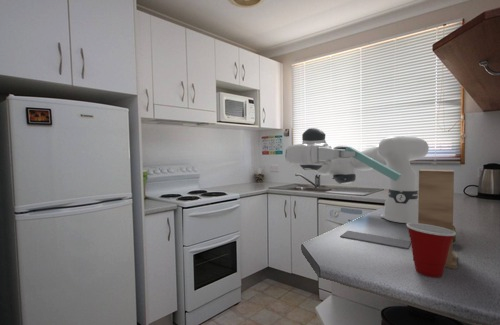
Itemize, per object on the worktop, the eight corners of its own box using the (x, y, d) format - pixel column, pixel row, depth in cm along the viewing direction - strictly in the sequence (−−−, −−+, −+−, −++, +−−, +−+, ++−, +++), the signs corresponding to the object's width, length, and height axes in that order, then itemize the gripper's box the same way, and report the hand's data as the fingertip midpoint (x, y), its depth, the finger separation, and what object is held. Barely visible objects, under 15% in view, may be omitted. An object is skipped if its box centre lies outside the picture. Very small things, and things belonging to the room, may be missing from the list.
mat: (347, 231, 108) (347, 230, 108) (411, 242, 95) (411, 240, 95) (340, 237, 101) (340, 235, 101) (408, 249, 88) (408, 248, 88)
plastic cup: (467, 281, 65) (468, 232, 65) (424, 283, 65) (425, 233, 64) (433, 263, 76) (434, 221, 76) (396, 264, 75) (397, 221, 75)
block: (347, 152, 105) (350, 146, 104) (397, 180, 94) (401, 174, 94) (343, 152, 101) (347, 146, 101) (395, 181, 91) (399, 175, 90)
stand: (417, 249, 87) (418, 169, 87) (456, 256, 81) (458, 169, 81) (413, 260, 78) (414, 170, 78) (456, 269, 72) (458, 171, 72)
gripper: (331, 161, 117) (365, 162, 109) (311, 162, 101) (349, 163, 92) (331, 147, 117) (365, 146, 109) (311, 145, 101) (349, 144, 92)
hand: (357, 154), depth 100 cm, fingers closed on block, 4 cm apart
